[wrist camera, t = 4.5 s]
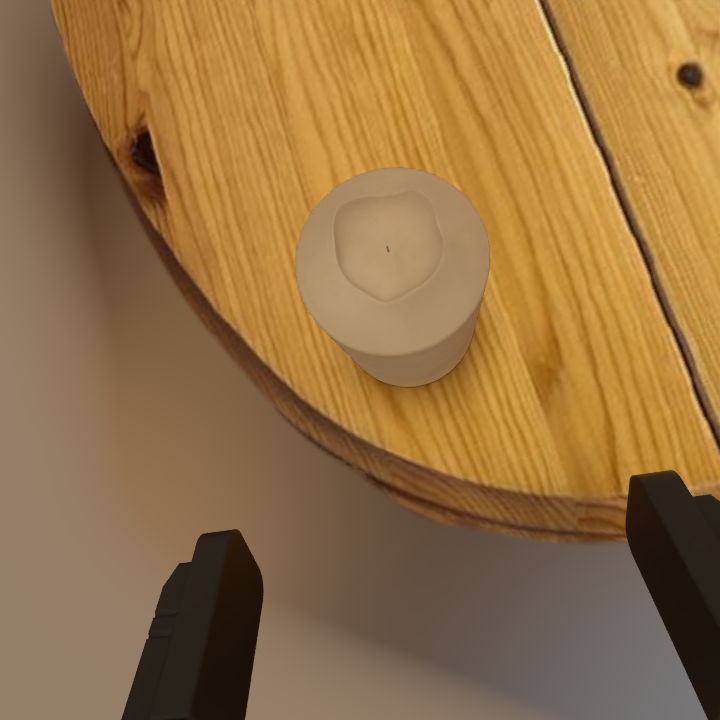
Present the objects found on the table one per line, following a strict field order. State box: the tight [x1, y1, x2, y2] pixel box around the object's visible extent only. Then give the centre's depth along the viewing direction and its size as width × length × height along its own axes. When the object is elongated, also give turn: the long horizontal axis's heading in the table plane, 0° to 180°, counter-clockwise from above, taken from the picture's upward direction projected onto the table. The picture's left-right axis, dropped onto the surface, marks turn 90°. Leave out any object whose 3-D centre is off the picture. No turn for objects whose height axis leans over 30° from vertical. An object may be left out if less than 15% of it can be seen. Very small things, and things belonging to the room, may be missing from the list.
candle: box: [295, 168, 490, 387], centre depth 19 cm, size 6×6×10 cm
